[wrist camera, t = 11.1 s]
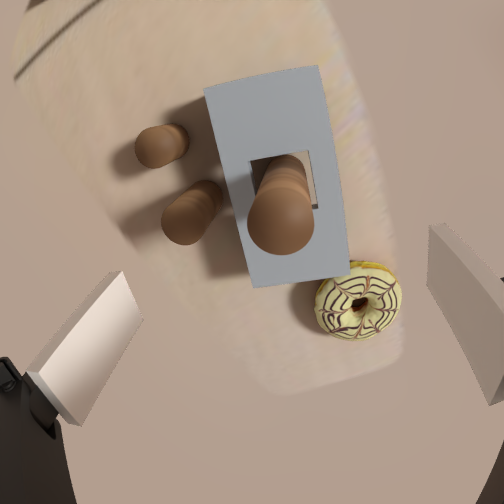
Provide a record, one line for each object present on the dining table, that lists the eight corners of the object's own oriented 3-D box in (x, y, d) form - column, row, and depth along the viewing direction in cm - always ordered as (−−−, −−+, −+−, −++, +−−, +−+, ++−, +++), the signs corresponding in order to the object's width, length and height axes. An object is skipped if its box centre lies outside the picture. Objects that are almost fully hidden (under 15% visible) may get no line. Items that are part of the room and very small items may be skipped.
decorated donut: (310, 326, 41) (310, 345, 37) (317, 253, 36) (319, 269, 33) (385, 328, 39) (391, 346, 36) (402, 257, 35) (412, 272, 31)
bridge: (216, 91, 29) (203, 88, 25) (313, 71, 27) (317, 64, 23) (258, 265, 37) (253, 288, 33) (344, 252, 35) (350, 274, 31)
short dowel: (151, 129, 32) (130, 134, 27) (184, 119, 31) (167, 121, 26) (160, 163, 33) (141, 172, 29) (193, 154, 32) (178, 162, 28)
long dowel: (262, 158, 32) (240, 198, 18) (301, 151, 31) (308, 186, 18) (270, 195, 33) (254, 259, 20) (308, 188, 33) (318, 250, 19)
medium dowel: (183, 184, 34) (155, 207, 27) (218, 177, 33) (197, 198, 26) (193, 218, 36) (169, 248, 28) (227, 211, 35) (209, 241, 28)
